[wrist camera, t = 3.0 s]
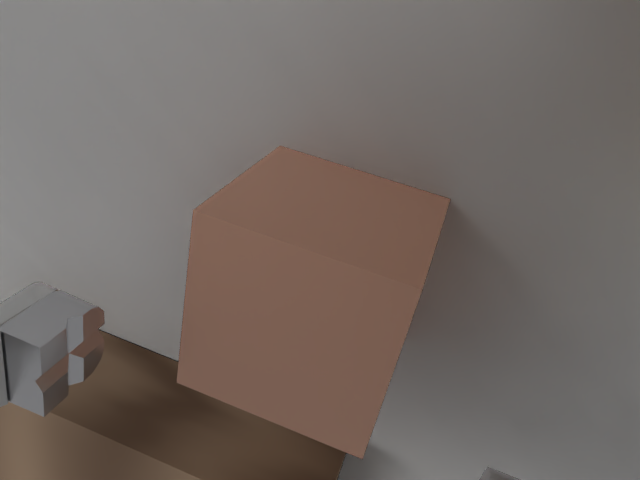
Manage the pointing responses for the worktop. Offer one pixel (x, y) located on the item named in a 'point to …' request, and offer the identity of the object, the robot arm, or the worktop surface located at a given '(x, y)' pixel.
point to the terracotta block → (305, 293)
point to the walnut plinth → (152, 431)
